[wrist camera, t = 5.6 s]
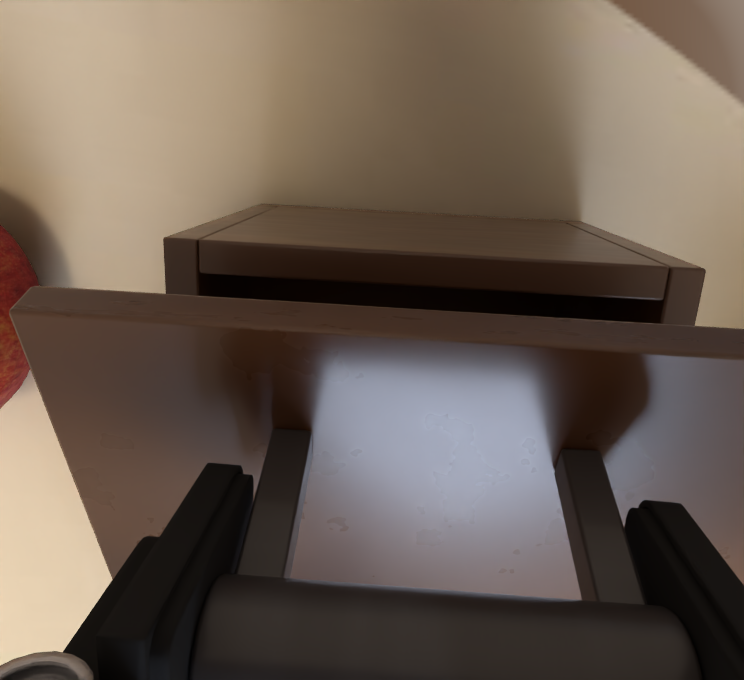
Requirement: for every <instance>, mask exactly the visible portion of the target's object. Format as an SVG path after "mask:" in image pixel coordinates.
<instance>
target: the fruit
mask: <svg viewBox="0 0 744 680" xmlns="http://www.w3.org/2000/svg"><path fill="white" fill-rule="evenodd" d="M33 286H39V284H38V281H37V276H36V274H35V272H34V270H33V268H32V266H31V264H30V262H29V260H28V258H27V257H26V255H25V253H24V252H23V250H22V249H21V247H20V246H19V245H18V243H17V242H16V241H15V240H14V238H13V237H12V236H11V235H10V234H9V233H8V232H7V231H6V230H5V229H4V228H3V227H2V226H1V225H0V409H1V407H2V406H3V405H4V404H5V403H6V402H7V401H8V400H9V399H10V398H11V397H12V396H13V394H14V393H15V392H16V391H17V390H18V389H19V388H20V386H21V385H22V383H23V381H24V379H25V378H26V377H27V374H28V372H29V370H30V366H29V364H28V361H27V359H26V356H25V354H24V351H23V348H22V346H21V343H20V341H19V338H18V336H17V333H16V330H15V328H14V325H13V323H12V320H11V318H10V315H9V311H10V309H11V308H12V307H13V306H14V304H15V303H16V302H17V301H18V300H19V299H20V298H21V297H22V296H23V295H24V294H25V293H26V292H27V290H28V289H29V288H30V287H33Z"/></svg>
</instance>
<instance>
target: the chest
mask: <svg viewBox="0 0 744 680" xmlns="http://www.w3.org/2000/svg"><path fill="white" fill-rule="evenodd" d="M163 240H164V263H165V285H166V294H176V295H192V296H209V297H225V298H242V299H258V300H275V301H291V302H308V303H324V304H340V305H357V306H373V307H390V308H406V309H423V310H439V311H456V312H472V313H488V314H505V315H521V316H538V317H554V318H571V319H587V320H604V321H620V322H636V323H653V324H669V325H686V326H695V321H696V316H697V311H698V306H699V302H700V297H701V292H702V287H703V282H704V277H705V273H706V271H705V269H704V268H701V267H699V266H696V265H693V264H691V263H688V262H685V261H683V260H680V259H677V258H675V257H672V256H670V255H667V254H664V253H662V252H659V251H656V250H654V249H651V248H649V247H646V246H643V245H641V244H638V243H635V242H633V241H630V240H628V239H625V238H622V237H620V236H617V235H614V234H612V233H609V232H607V231H604V230H601V229H599V228H596V227H593V226H591V225H588V224H585V223H583V222H576V221H558V220H540V219H523V218H505V217H487V216H469V215H451V214H433V213H415V212H397V211H380V210H362V209H344V208H326V207H308V206H290V205H272V204H260V205H256V206H253V207H251V208H248V209H245V210H242V211H239V212H236V213H233V214H231V215H228V216H225V217H222V218H219V219H216V220H213V221H211V222H208V223H205V224H202V225H199V226H196V227H193V228H191V229H188V230H185V231H182V232H179V233H176V234H173V235H170V236H168V237H165V238H164V239H163Z"/></svg>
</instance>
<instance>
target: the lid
mask: <svg viewBox="0 0 744 680" xmlns="http://www.w3.org/2000/svg"><path fill="white" fill-rule="evenodd" d="M9 315H10V318H11V320H12V323H13V325H14V328H15V330H16V333H17V336H18V338H19V341H20V343H21V346H22V348H23V351H24V354H25V356H26V359H27V361H28V364H29V366H30V369H31V372H32V374H33V377H34V379H35V382H36V384H37V387H38V389H39V392H40V395H41V397H42V400H43V402H44V405H45V407H46V410H47V413H48V415H49V418H50V420H51V423H52V425H53V428H54V430H55V433H56V436H57V438H58V441H59V443H60V446H61V448H62V451H63V454H64V456H65V459H66V461H67V464H68V466H69V469H70V472H71V474H72V477H73V479H74V482H75V484H76V487H77V489H78V492H79V495H80V497H81V500H82V502H83V505H84V507H85V510H86V513H87V515H88V518H89V520H90V523H91V525H92V528H93V530H94V533H95V536H96V538H97V541H98V543H99V546H100V548H101V551H102V554H103V556H104V559H105V561H106V564H107V566H108V569H109V572H110V574H111V577H112V579H114V577H115V576H116V574H117V573H118V572H119V570H120V569H121V567H122V566H123V564H124V563H125V561H126V560H127V558H128V557H129V556H130V554H131V553H132V551H133V550H134V548H135V547H136V545H137V544H138V543H139V542H140V541H141V539H142V538H143V537H146V536H156V537H160V535H161V534H162V532H163V531H164V529H165V527H166V526H167V524H168V523H169V521H170V520H171V518H172V517H173V515H174V514H175V512H176V510H177V509H178V507H179V506H180V504H181V503H182V501H183V500H184V498H185V497H186V495H187V493H188V492H189V490H190V489H191V487H192V486H193V484H194V483H195V481H196V480H197V478H198V476H199V475H200V473H201V472H202V470H203V469H204V467H205V466H206V464H207V463H220V464H232V465H241V466H242V469H243V474H249V475H252V476H253V483H254V494H253V505H252V509H251V513H250V516H249V520H248V524H247V528H246V531H245V535H244V539H243V543H242V547H241V550H240V554H239V558H238V562H237V565H236V569H235V573H234V574H227V573H226V574H222V575H219V576H218V577H217V578H216V579H215V580H214V582H213V584H212V585H211V587H210V589H209V592H208V594H207V596H206V599H205V601H204V604H203V607H202V610H201V613H200V617H199V620H198V624H197V629H196V633H195V638H194V643H193V649H192V655H191V662H190V671H189V680H703V677H702V672H701V668H700V664H699V660H698V656H697V653H696V650H695V647H694V645H693V642H692V640H691V637H690V635H689V633H688V631H687V629H686V627H685V626H684V624H683V623H682V621H681V620H680V618H679V617H678V616H677V615H676V614H675V613H674V612H672V611H671V610H669V609H667V608H665V607H663V606H655V605H648V604H647V601H646V598H645V595H644V591H643V588H642V585H641V582H640V578H639V575H638V572H637V569H636V565H635V562H634V559H633V556H632V552H631V549H630V546H629V543H628V539H627V536H626V533H625V530H624V527H625V522H626V517H627V514H628V511H629V509H630V508H638V507H639V505H640V503H641V502H642V501H643V500H652V501H663V502H675V503H681V504H682V505H683V506H684V507H685V509H686V510H687V511H688V513H689V514H690V515H691V517H692V518H693V519H694V520H695V522H696V523H697V524H698V526H699V527H700V528H701V530H702V531H703V532H704V534H705V535H706V536H707V538H708V539H709V540H710V542H711V543H712V544H713V545H714V547H715V548H716V549H717V551H718V552H719V553H720V555H721V556H722V557H723V559H724V560H725V561H726V563H727V564H728V565H729V567H730V568H731V569H732V570H733V572H734V573H735V574H736V576H737V577H738V578H739V580H740V581H741V582H742V584H743V585H744V329H735V328H719V327H702V326H686V325H669V324H653V323H636V322H620V321H604V320H587V319H571V318H554V317H538V316H521V315H505V314H488V313H472V312H456V311H439V310H423V309H406V308H390V307H373V306H357V305H340V304H324V303H308V302H291V301H275V300H258V299H242V298H225V297H209V296H192V295H176V294H160V293H143V292H127V291H110V290H94V289H77V288H61V287H44V286H33V287H30V288H29V289H28V290H27V292H26V293H25V294H24V295H23V296H22V297H21V298H20V299H19V300H18V301H17V302H16V303H15V304H14V306H13V307H12V308H11V309H10V311H9Z"/></svg>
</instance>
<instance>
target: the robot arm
mask: <svg viewBox="0 0 744 680" xmlns="http://www.w3.org/2000/svg"><path fill="white" fill-rule="evenodd" d="M253 494H254V483H253V476H252V475H249V474H243V469H242V466H241V465H232V464H220V463H207V464H206V466H205V467H204V469H203V470H202V472H201V473H200V475H199V476H198V478H197V480H196V481H195V483H194V484H193V486H192V487H191V489H190V490H189V492H188V493H187V495H186V497H185V498H184V500H183V501H182V503H181V504H180V506H179V507H178V509H177V510H176V512H175V514H174V515H173V517H172V518H171V520H170V521H169V523H168V524H167V526H166V527H165V529H164V531H163V532H162V534H161V535H160V537H156V536H146V537H143V538H142V539H141V541H140V542H139V543H138V544H137V545H136V547H135V548H134V550H133V551H132V553H131V554H130V556H129V557H128V558H127V560H126V561H125V563H124V564H123V566H122V567H121V569H120V570H119V572H118V573H117V574H116V576H115V577H114V579H113V580H112V582H111V583H110V585H109V586H108V587H107V589H106V590H105V592H104V593H103V595H102V596H101V598H100V599H99V600H98V602H97V603H96V605H95V606H94V608H93V609H92V611H91V612H90V614H89V615H88V616H87V618H86V619H85V621H84V622H83V624H82V625H81V627H80V628H79V629H78V631H77V632H76V634H75V635H74V637H73V638H72V640H71V641H70V642H69V644H68V645H67V647H66V648H65V650H64V651H63V653H62V652H56V651H52V652H40V653H33V654H30V655H26V656H23V657H19V658H16V659H13V660H11V661H9V662H7V663H5V664H3V665H1V666H0V680H189V671H190V662H191V655H192V649H193V643H194V638H195V633H196V629H197V624H198V620H199V617H200V613H201V610H202V607H203V604H204V601H205V599H206V596H207V594H208V592H209V589H210V587H211V585H212V584H213V582H214V580H215V579H216V578H217V577H218V576H219V575H222V574H226V573H227V574H234V573H235V569H236V565H237V562H238V558H239V554H240V550H241V547H242V543H243V539H244V535H245V531H246V528H247V524H248V520H249V516H250V513H251V509H252V505H253ZM624 530H625V533H626V536H627V539H628V543H629V546H630V549H631V552H632V556H633V559H634V562H635V565H636V569H637V572H638V575H639V578H640V582H641V585H642V588H643V591H644V595H645V598H646V601H647V604H648V605H655V606H663V607H665V608H667V609H669V610H671V611H672V612H674V613H675V614H676V615H677V616H678V617H679V618H680V620H681V621H682V623H683V624H684V626H685V627H686V629H687V631H688V633H689V635H690V637H691V640H692V642H693V645H694V647H695V650H696V653H697V656H698V660H699V664H700V668H701V672H702V677H703V680H744V585H743V584H742V582H741V581H740V580H739V578H738V577H737V576H736V574H735V573H734V572H733V570H732V569H731V568H730V567H729V565H728V564H727V563H726V561H725V560H724V559H723V557H722V556H721V555H720V553H719V552H718V551H717V549H716V548H715V547H714V545H713V544H712V543H711V542H710V540H709V539H708V538H707V536H706V535H705V534H704V532H703V531H702V530H701V528H700V527H699V526H698V524H697V523H696V522H695V520H694V519H693V518H692V517H691V515H690V514H689V513H688V511H687V510H686V509H685V507H684V506H683V505H682V504H681V503H675V502H663V501H652V500H643V501H642V502H641V503H640V505H639V507H638V508H630V509H629V511H628V514H627V517H626V522H625V527H624Z"/></svg>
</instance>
